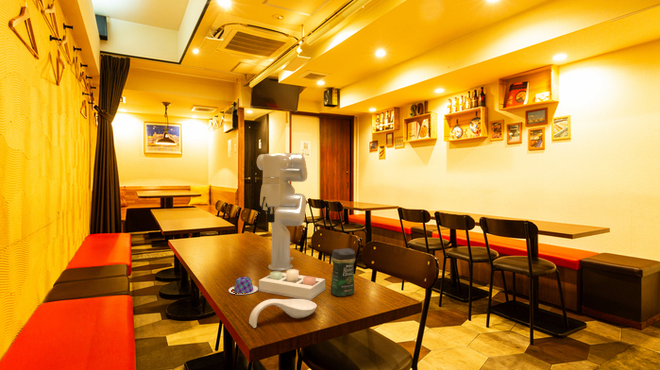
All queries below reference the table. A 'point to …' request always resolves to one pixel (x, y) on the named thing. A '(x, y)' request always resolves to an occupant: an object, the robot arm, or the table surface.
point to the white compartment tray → (292, 287)
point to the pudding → (243, 286)
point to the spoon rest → (285, 308)
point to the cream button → (292, 275)
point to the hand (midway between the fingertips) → (270, 222)
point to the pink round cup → (309, 280)
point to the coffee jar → (343, 272)
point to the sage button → (276, 275)
